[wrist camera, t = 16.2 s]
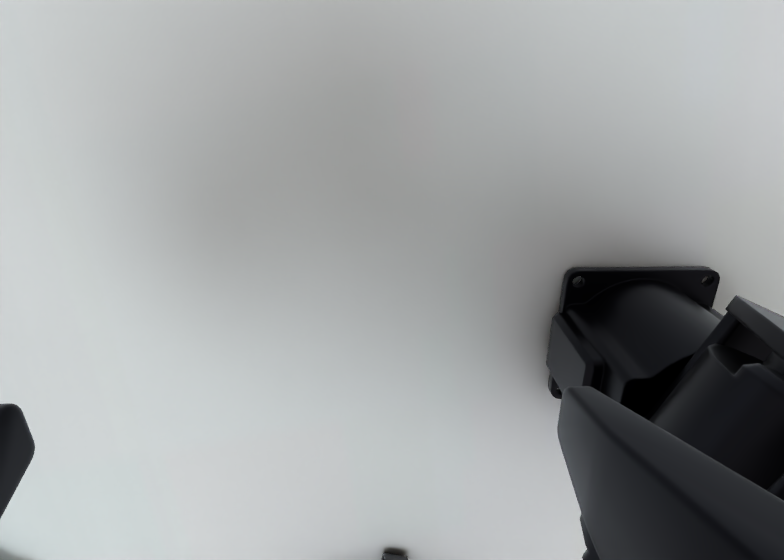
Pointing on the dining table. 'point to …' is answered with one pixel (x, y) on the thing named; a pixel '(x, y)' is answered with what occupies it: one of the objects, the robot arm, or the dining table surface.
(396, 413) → the dining table surface
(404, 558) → the coffee press
